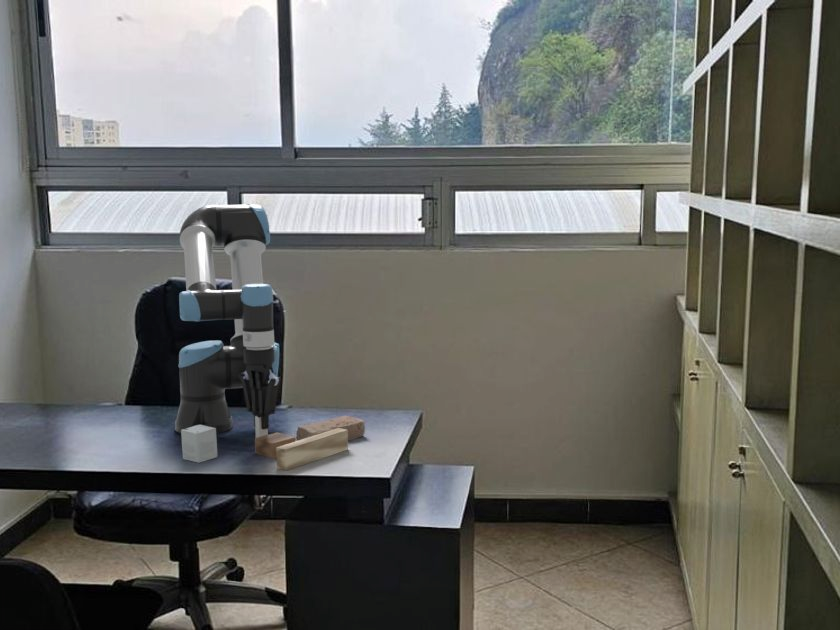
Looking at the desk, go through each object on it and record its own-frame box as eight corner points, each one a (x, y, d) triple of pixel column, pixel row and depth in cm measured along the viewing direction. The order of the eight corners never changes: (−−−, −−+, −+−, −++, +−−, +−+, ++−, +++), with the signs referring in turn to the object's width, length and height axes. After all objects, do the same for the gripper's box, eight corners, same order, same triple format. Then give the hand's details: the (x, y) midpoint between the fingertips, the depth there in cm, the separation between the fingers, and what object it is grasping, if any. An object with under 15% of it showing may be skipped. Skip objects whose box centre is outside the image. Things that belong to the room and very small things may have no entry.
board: (276, 468, 205) (276, 447, 205) (339, 447, 222) (338, 427, 221) (286, 470, 204) (285, 449, 203) (348, 449, 220) (347, 429, 219)
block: (255, 454, 218) (254, 438, 217) (277, 447, 223) (277, 432, 222) (273, 459, 213) (272, 443, 213) (295, 453, 218) (295, 437, 218)
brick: (312, 449, 221) (311, 431, 221) (294, 442, 228) (294, 424, 227) (366, 438, 232) (366, 420, 231) (348, 431, 238) (348, 414, 237)
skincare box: (218, 457, 214) (216, 427, 213) (197, 463, 210) (196, 433, 209) (202, 453, 218) (200, 423, 217) (181, 459, 213) (180, 429, 212)
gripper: (229, 346, 218) (233, 440, 221) (265, 352, 210) (268, 448, 213) (252, 342, 224) (256, 433, 227) (288, 347, 216) (291, 442, 219)
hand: (262, 441), depth 220 cm, fingers closed
